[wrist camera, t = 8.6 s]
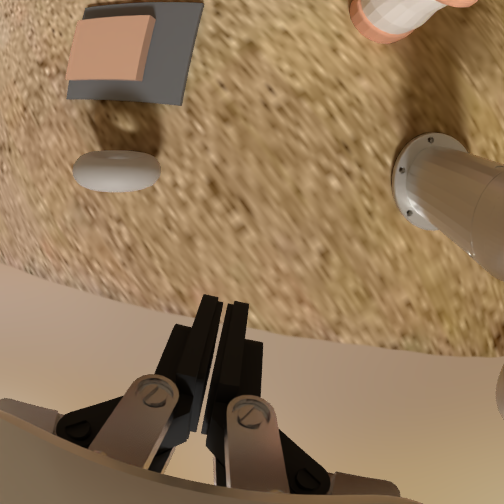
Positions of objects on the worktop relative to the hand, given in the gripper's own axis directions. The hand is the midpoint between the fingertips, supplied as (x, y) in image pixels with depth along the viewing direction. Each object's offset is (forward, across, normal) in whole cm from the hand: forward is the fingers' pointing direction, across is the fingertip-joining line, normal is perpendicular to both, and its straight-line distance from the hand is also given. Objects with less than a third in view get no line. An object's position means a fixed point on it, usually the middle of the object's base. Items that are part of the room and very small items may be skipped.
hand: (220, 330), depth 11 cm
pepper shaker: (+27, -10, -24) cm, 38 cm away
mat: (+27, +18, -14) cm, 35 cm away
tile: (+25, +15, -14) cm, 32 cm away
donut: (+27, +15, 0) cm, 31 cm away
